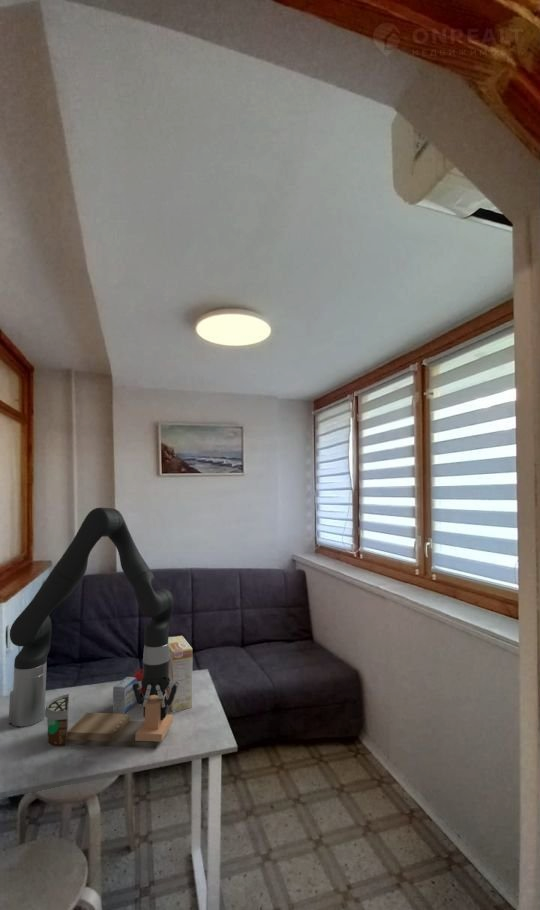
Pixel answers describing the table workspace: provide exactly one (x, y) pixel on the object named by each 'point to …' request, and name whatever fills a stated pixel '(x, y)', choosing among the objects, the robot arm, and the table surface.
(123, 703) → the medicine box
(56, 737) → the food container
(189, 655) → the coffeecake box
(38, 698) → the robot arm
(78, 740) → the board
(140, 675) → the pomegranate
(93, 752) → the table surface
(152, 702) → the stub
